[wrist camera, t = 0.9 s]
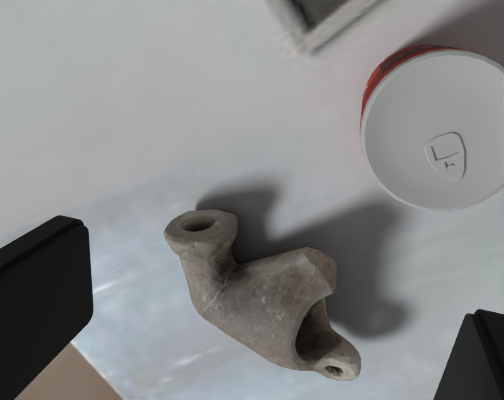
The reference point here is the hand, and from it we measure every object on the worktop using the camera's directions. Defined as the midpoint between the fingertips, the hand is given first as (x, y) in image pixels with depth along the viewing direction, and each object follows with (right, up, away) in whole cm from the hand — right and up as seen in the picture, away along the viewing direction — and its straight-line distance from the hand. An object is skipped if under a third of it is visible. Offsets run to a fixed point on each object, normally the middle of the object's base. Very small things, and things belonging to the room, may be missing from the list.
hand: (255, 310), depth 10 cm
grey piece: (+2, -4, +28) cm, 28 cm away
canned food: (+12, +10, +20) cm, 25 cm away
